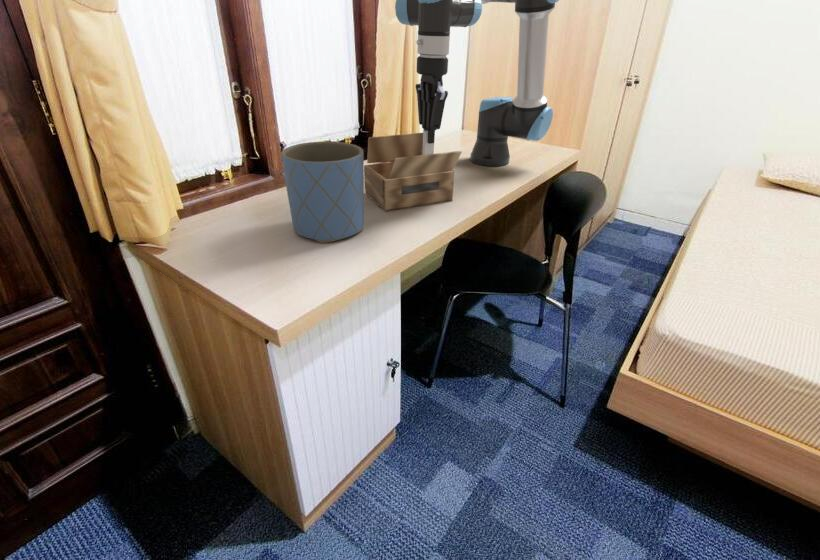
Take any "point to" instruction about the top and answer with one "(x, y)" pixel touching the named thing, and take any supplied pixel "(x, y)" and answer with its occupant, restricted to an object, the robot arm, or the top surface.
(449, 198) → the carton
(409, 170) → the near flap
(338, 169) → the planter
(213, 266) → the top surface
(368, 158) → the far flap
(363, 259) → the top surface
